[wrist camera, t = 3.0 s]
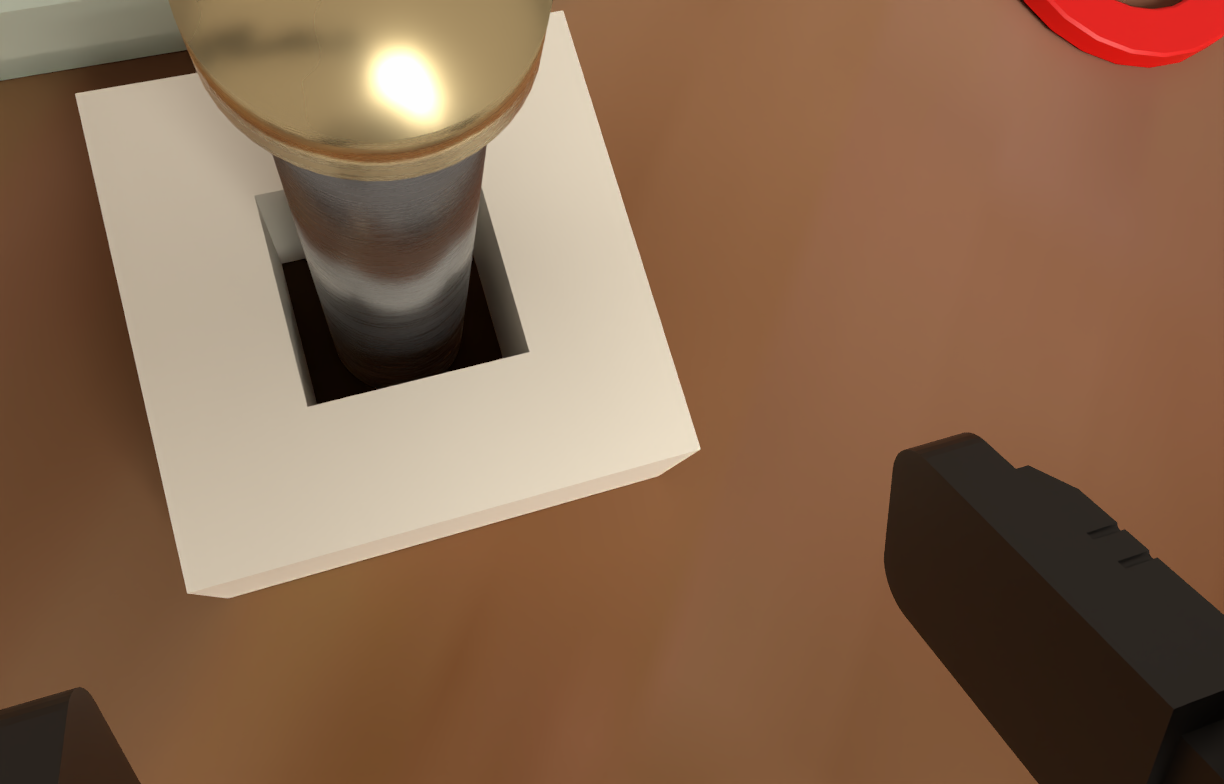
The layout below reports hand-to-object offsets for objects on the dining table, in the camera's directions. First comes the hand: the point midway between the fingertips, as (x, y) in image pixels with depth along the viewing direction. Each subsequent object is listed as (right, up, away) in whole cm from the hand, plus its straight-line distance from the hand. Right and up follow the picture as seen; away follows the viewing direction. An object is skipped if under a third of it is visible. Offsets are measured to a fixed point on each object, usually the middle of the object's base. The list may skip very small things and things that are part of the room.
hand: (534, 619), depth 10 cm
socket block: (-4, +4, +14) cm, 15 cm away
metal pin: (-4, +4, +14) cm, 15 cm away
